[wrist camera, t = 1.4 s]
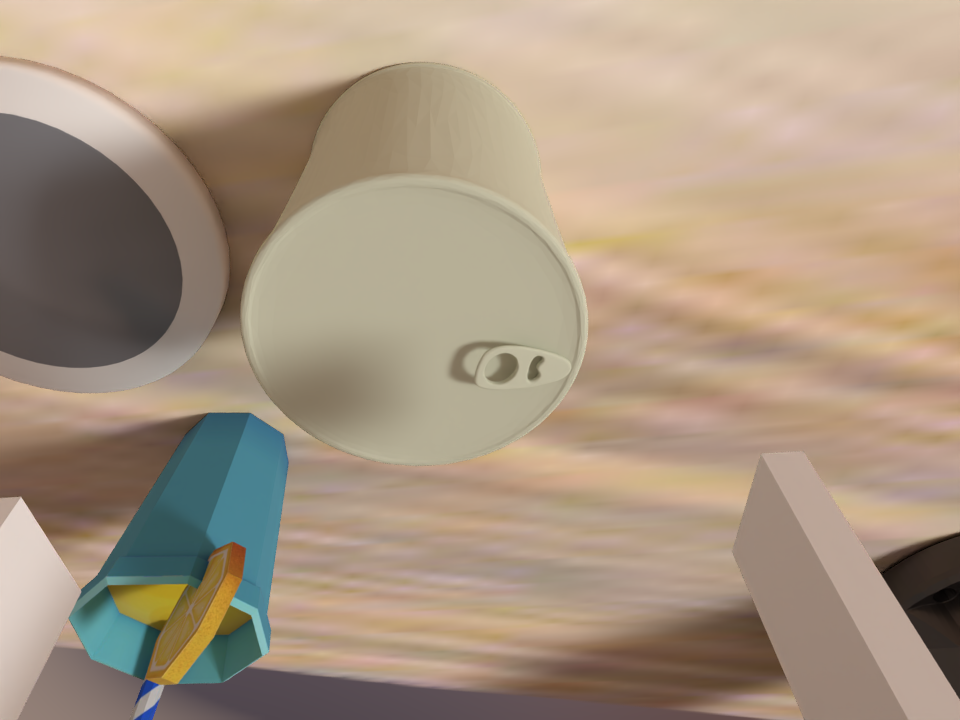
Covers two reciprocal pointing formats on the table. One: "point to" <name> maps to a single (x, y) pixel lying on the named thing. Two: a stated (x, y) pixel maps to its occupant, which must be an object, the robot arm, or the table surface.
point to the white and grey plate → (98, 239)
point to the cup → (193, 564)
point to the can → (417, 277)
